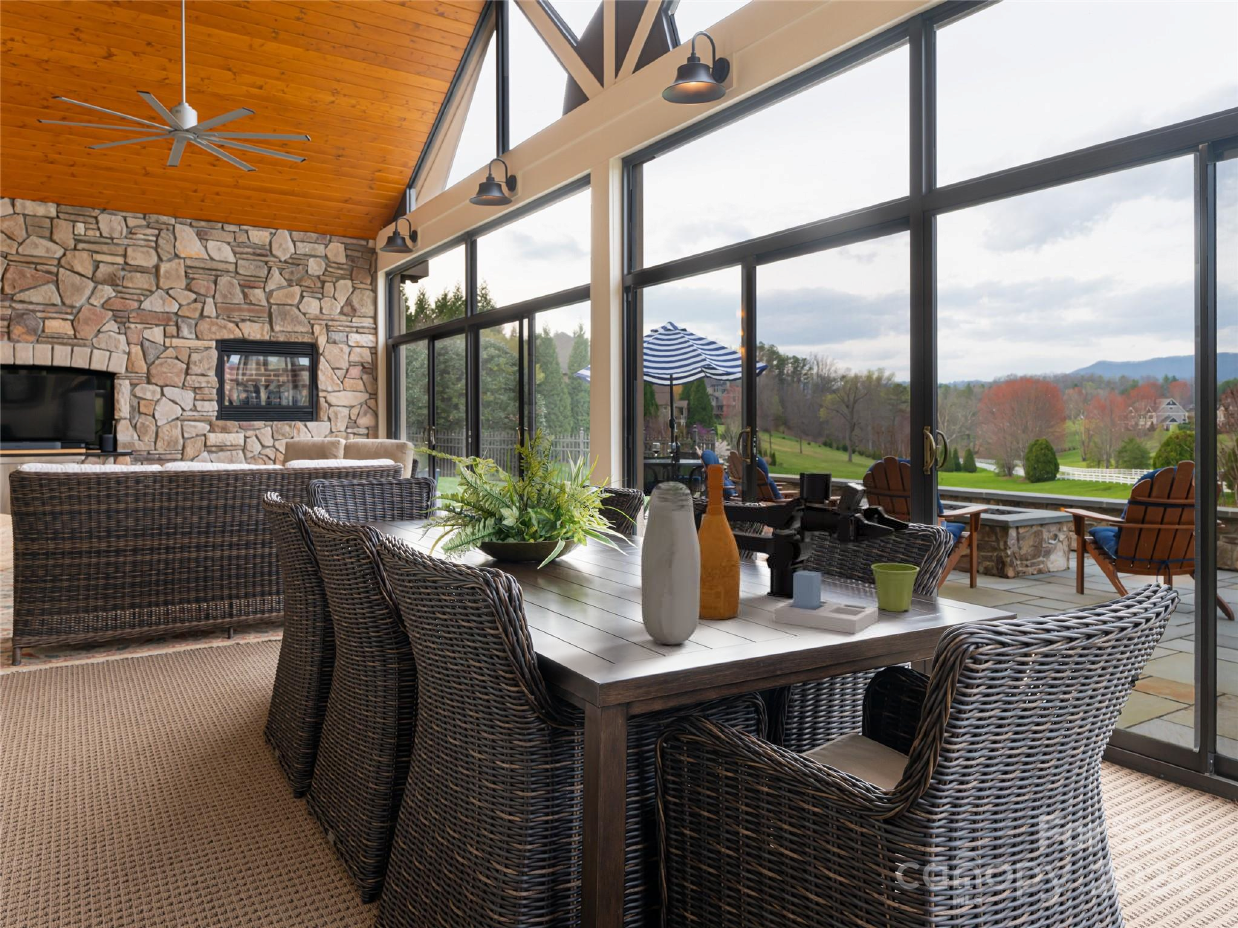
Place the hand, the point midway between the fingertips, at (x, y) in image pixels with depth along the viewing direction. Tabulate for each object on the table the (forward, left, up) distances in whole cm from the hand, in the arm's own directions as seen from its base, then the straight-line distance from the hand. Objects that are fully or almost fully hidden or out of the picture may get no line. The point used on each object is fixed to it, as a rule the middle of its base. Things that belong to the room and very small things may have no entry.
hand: (901, 528), depth 175 cm
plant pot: (-1, +1, -17) cm, 17 cm away
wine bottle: (-28, -26, -17) cm, 42 cm away
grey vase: (-24, -49, -17) cm, 58 cm away
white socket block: (-8, -18, -17) cm, 26 cm away
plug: (-12, -18, -17) cm, 28 cm away
